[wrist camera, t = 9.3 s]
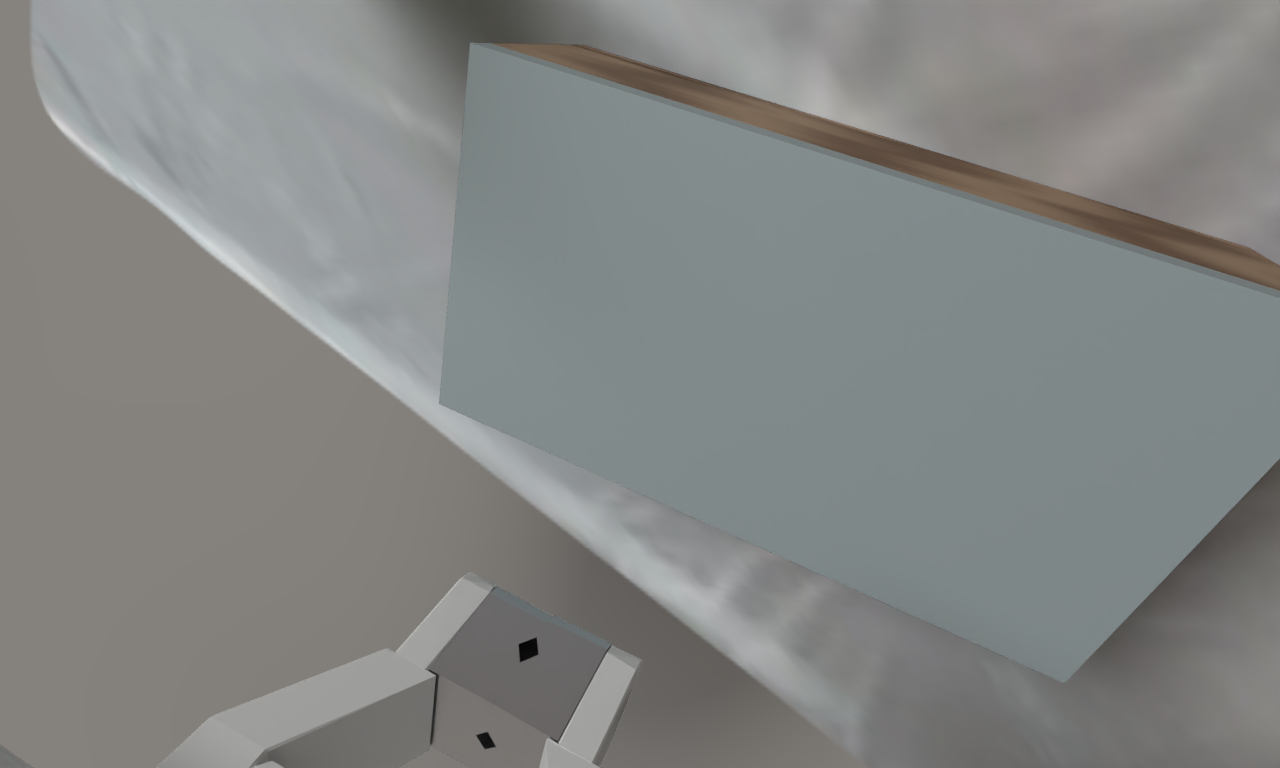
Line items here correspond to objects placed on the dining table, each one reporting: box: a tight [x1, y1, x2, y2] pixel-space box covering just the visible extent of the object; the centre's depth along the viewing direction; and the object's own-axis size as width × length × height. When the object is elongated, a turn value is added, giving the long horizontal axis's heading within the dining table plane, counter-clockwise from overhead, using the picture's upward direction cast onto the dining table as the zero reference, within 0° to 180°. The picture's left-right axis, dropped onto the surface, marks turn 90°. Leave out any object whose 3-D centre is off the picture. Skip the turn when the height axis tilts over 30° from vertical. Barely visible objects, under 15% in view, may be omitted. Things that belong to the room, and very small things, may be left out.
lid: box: [439, 43, 1280, 683], centre depth 19 cm, size 22×12×1 cm, turn 76°
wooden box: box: [492, 43, 1280, 291], centre depth 22 cm, size 22×12×6 cm, turn 76°
